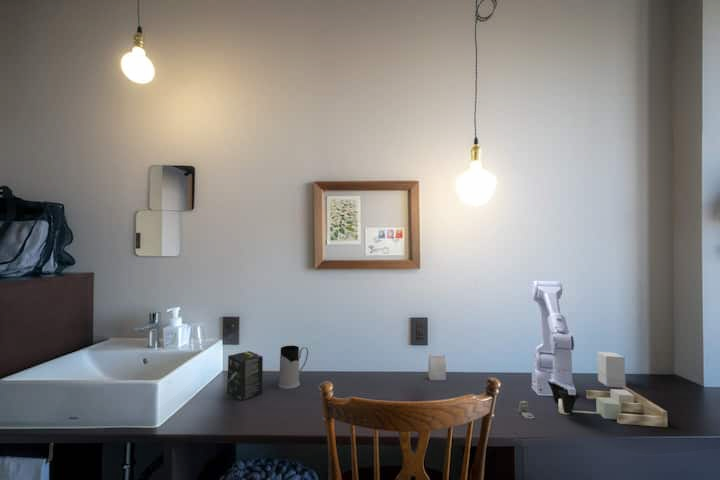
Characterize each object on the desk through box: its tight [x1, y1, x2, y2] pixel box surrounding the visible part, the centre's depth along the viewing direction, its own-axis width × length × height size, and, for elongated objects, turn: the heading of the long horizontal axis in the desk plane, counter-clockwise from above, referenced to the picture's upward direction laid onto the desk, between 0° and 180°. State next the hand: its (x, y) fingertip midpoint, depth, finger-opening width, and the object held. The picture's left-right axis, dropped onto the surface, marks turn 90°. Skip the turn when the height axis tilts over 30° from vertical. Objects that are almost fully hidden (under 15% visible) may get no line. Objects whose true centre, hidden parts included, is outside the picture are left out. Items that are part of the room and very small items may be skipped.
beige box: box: [427, 354, 447, 381], centre depth 147 cm, size 4×7×10 cm, turn 90°
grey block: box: [609, 388, 635, 403], centre depth 121 cm, size 5×5×5 cm
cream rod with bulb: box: [558, 397, 622, 420], centre depth 114 cm, size 18×5×5 cm, turn 82°
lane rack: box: [585, 386, 669, 428], centre depth 117 cm, size 14×20×5 cm
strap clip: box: [513, 400, 535, 420], centre depth 115 cm, size 8×3×4 cm, turn 3°
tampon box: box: [226, 350, 264, 402], centre depth 129 cm, size 11×9×15 cm
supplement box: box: [596, 351, 627, 389], centre depth 142 cm, size 7×7×13 cm
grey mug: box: [277, 345, 309, 390], centre depth 141 cm, size 9×14×15 cm, turn 139°
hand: (563, 407), depth 115 cm, fingers open, 7 cm apart
